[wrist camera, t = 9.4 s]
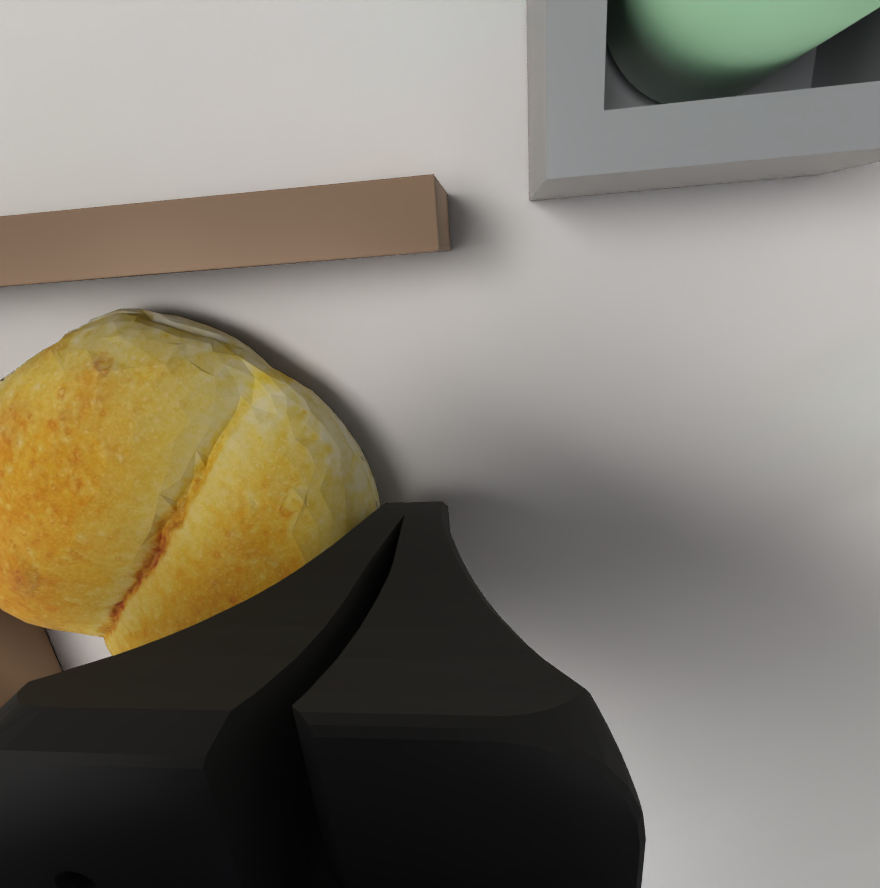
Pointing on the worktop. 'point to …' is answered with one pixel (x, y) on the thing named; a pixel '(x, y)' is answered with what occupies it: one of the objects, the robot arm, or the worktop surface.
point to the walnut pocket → (207, 248)
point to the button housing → (689, 113)
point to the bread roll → (163, 478)
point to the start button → (718, 41)
